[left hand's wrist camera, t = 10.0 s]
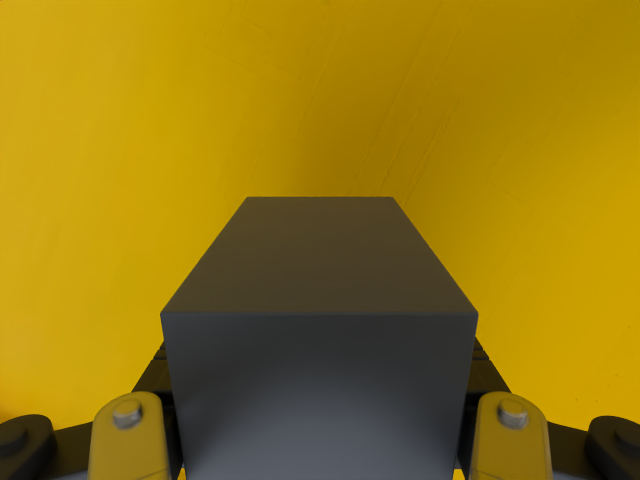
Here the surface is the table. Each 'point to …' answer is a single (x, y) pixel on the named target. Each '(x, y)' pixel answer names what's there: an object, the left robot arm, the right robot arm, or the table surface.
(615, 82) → the table surface
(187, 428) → the long box
